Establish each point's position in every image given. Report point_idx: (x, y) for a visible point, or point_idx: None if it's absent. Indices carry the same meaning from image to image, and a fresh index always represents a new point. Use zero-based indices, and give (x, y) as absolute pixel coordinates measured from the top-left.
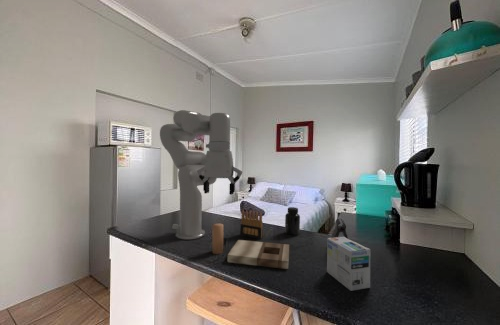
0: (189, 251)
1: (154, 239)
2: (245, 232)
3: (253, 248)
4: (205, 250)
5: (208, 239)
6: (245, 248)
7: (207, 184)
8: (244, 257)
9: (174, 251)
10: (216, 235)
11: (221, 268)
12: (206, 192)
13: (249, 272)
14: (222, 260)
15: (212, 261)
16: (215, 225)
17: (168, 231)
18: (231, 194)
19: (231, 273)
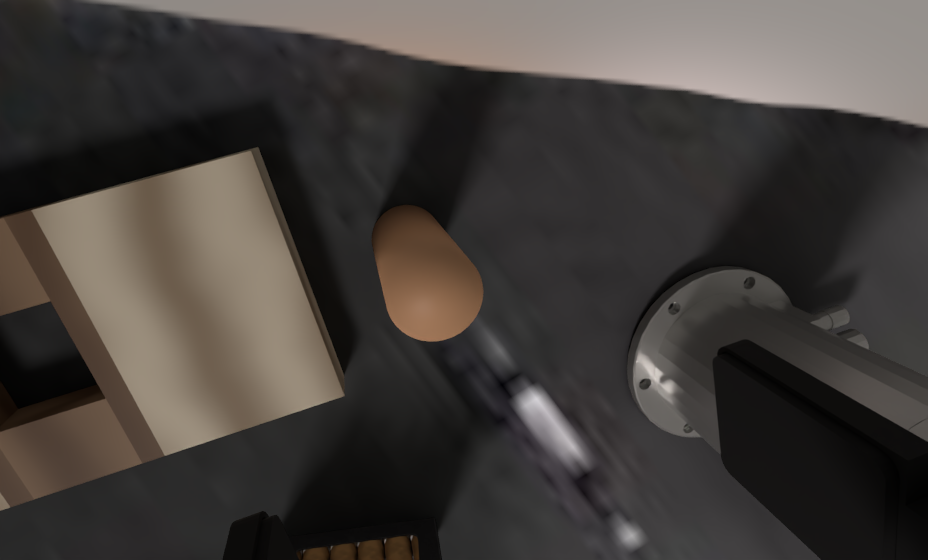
0: (563, 153)
1: (854, 183)
2: (397, 542)
3: (157, 331)
4: (486, 215)
5: (569, 357)
6: (206, 301)
7: (845, 497)
8: (128, 183)
9: (643, 106)
10: (408, 233)
11: (236, 53)
12: (720, 368)
13: (40, 94)
14: (302, 151)
15: (348, 108)
16: (447, 272)
17: (854, 320)
18: (242, 529)
19: (135, 26)
